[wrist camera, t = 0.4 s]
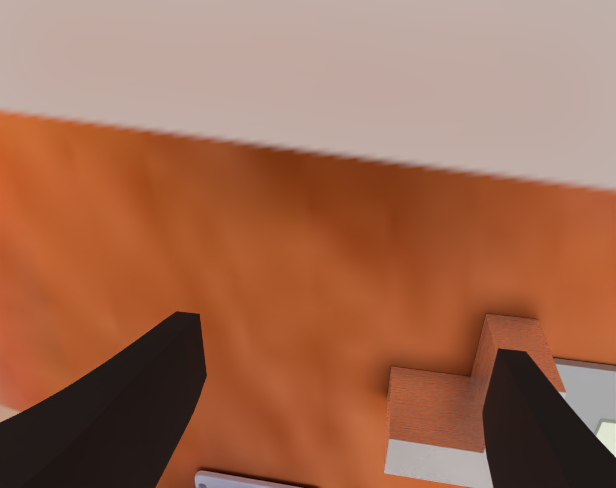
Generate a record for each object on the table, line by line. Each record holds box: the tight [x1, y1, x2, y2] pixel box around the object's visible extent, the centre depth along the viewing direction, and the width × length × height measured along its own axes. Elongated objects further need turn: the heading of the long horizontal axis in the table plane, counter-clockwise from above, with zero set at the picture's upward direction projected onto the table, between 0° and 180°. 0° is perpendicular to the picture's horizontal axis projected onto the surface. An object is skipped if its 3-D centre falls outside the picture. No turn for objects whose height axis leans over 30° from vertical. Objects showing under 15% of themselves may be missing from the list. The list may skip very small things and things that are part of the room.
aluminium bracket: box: [384, 313, 567, 488], centre depth 21 cm, size 6×6×4 cm
